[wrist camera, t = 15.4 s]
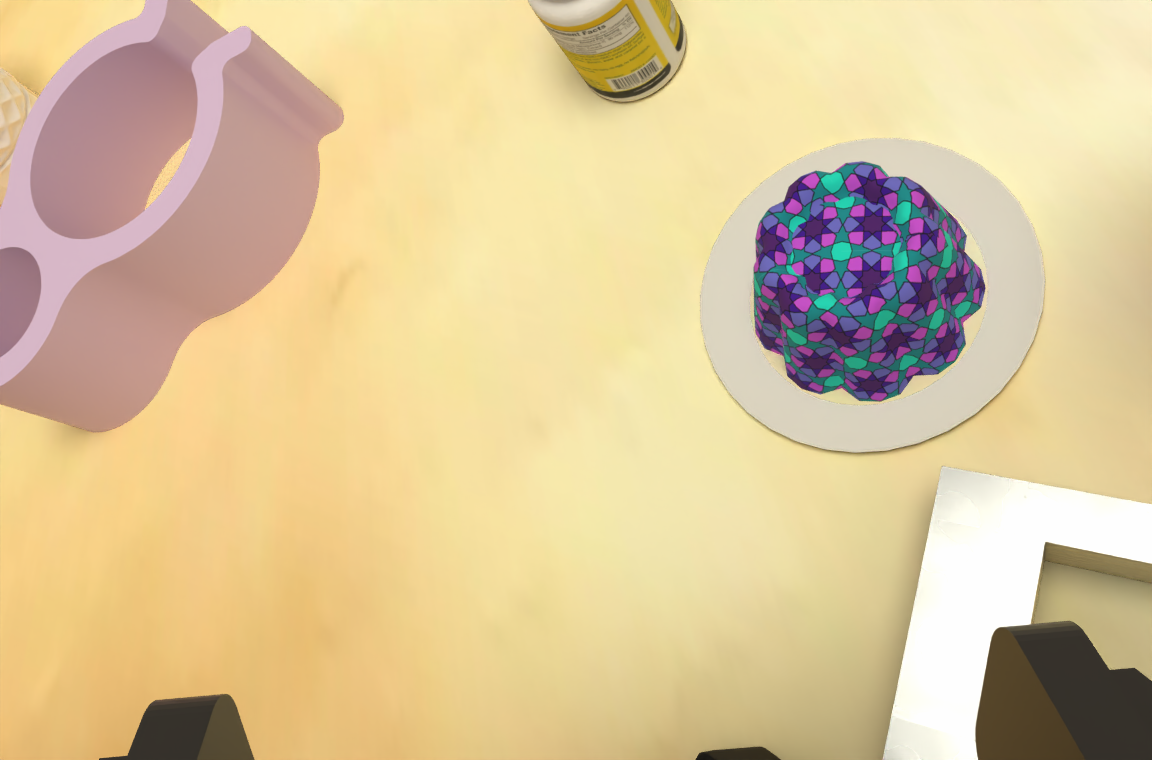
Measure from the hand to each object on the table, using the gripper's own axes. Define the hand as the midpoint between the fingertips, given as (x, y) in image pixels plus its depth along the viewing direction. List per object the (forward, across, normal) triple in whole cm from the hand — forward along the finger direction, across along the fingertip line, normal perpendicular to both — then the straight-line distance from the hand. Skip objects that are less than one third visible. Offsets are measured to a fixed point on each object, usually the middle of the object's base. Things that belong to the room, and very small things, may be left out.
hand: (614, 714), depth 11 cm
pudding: (+26, -11, +9) cm, 30 cm away
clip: (+42, +18, +11) cm, 47 cm away
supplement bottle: (+38, -4, +2) cm, 38 cm away
